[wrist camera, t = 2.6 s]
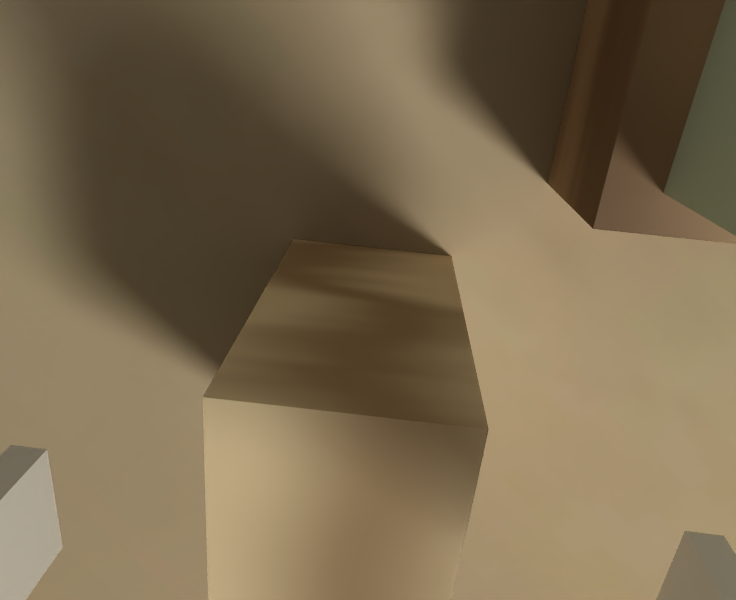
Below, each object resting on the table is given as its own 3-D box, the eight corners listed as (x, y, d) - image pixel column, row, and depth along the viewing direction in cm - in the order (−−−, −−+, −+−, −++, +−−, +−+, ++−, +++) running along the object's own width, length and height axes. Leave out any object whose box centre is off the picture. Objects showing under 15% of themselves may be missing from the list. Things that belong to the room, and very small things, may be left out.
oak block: (285, 421, 21) (210, 660, 13) (293, 239, 18) (202, 397, 10) (422, 436, 21) (432, 687, 13) (451, 256, 18) (488, 429, 10)
